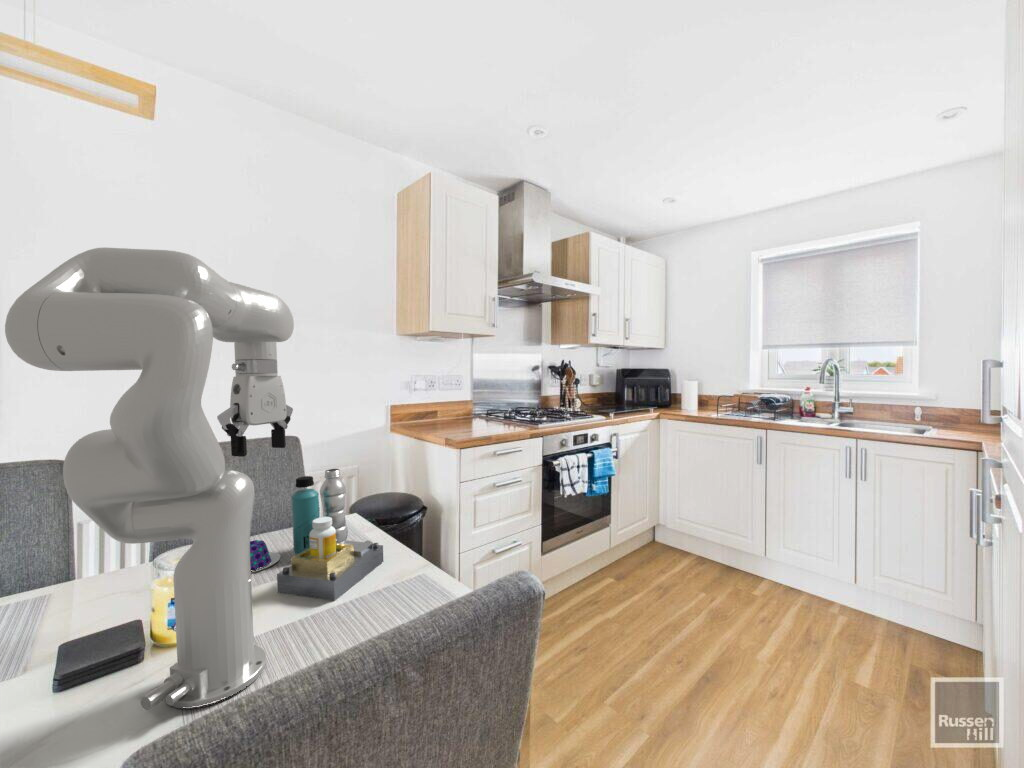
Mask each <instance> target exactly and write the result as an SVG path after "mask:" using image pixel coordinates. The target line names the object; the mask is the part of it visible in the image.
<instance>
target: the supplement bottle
mask: <svg viewBox="0 0 1024 768" xmlns="http://www.w3.org/2000/svg"><path fill="white" fill-rule="evenodd" d="M331 525H332V518H331V517H323V516H322V517H320V518H317V519H314V520H313V522H312V527H313V528H314V529H313V530H311V532H310V534H309V542H310V558H318V559H328V558H329V557H331V556H332V555H334V554H336V530H335V528H334V527H332V526H331Z"/></svg>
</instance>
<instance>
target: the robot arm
mask: <svg viewBox="0 0 1024 768" xmlns="http://www.w3.org/2000/svg"><path fill="white" fill-rule="evenodd" d="M294 322H295V321H294V317H293V313H292V311H291V310H290V307H289V305H287V304H286V302H285V301H284V300H283V299H282V298H281V297H279V296H278V295H276V294H273V293H270V292H268V291H264V290H260V289H256V288H252V287H249V286H245V285H242V284H240V283H235V282H232V281H228V280H227V279H225V278H224V277H222V276H221V275H220V274H218V273H217V272H216V271H215V270H214V269H212V268H211V267H210V266H208V265H207V264H206V263H205V262H204V261H202V260H200V259H199V258H197V257H196V256H193V255H192V254H189V253H185V252H182V251H181V252H180V251H176V250H168V249H167V250H166V249H146V248H142V249H141V248H128V247H127V248H125V247H124V248H123V247H122V248H121V247H95V248H92V249H88V250H86V251H83V252H81V253H78V254H76V255H74V256H73V257H71V258H69V259H68V260H66V261H64V262H62V263H61V264H60V265H59V266H57V267H56V268H54V269H53V270H52V271H50V272H49V273H48V274H47V275H45V276H44V277H42V278H41V279H39V281H37V282H36V283H34V284H33V285H31V286H30V287H29V288H28V289H26V290H25V291H24V292H23V293H21V294H20V295H19V296H18V297H17V298H16V300H15V301H14V302H13V304H12V305H11V306H10V308H9V310H8V312H7V315H6V319H5V324H4V334H5V337H6V342H7V343H8V346H9V347H10V349H11V350H12V352H13V353H14V354H15V355H16V356H17V357H18V358H19V359H21V360H22V361H23V362H25V363H26V364H29V365H30V366H32V367H36V368H38V369H42V370H46V371H53V372H58V371H59V372H84V371H86V372H88V371H89V372H90V371H91V372H93V371H94V372H95V371H97V372H98V371H135V370H136V371H137V370H138V371H139V370H141V372H140V375H139V377H138V379H137V380H136V382H135V383H133V385H132V386H130V387H129V388H128V389H127V390H126V391H125V392H124V393H123V394H122V396H120V398H119V399H118V401H117V402H116V404H115V405H114V407H113V409H112V412H111V413H110V416H109V425H110V428H109V429H103V430H98V431H94V432H91V433H87V434H86V435H84V436H82V437H81V438H79V439H78V440H77V441H76V442H74V443H73V444H72V446H70V448H69V449H68V451H67V453H66V455H65V458H64V460H63V465H62V474H63V475H62V476H63V483H64V487H65V489H66V490H65V491H66V492H67V495H68V496H69V499H71V501H72V502H73V503H74V505H76V506H77V508H79V509H80V510H81V511H82V512H83V513H84V514H85V515H86V516H87V517H88V518H90V519H91V521H93V522H94V524H96V525H97V526H98V527H99V528H100V529H101V530H103V531H104V532H105V533H106V534H107V535H108V536H109V537H110V538H112V539H113V540H115V541H117V542H119V543H123V544H133V545H134V544H144V543H145V544H146V543H147V544H148V543H157V542H165V541H166V542H167V541H175V540H192V544H191V546H190V547H189V548H188V550H187V551H186V552H185V553H184V554H183V555H182V557H181V558H180V559H179V560H178V562H177V563H176V565H175V568H174V571H173V578H172V579H173V593H174V595H173V596H174V615H175V617H174V619H175V634H176V635H175V638H176V639H175V640H176V655H177V656H176V657H177V662H175V663H174V664H173V665H171V666H170V667H169V676H168V677H166V678H165V679H164V681H163V683H161V685H159V686H157V687H155V688H154V689H152V690H151V691H149V692H148V693H146V694H145V695H143V696H142V697H141V698H140V700H139V702H140V706H141V708H142V709H143V710H144V711H147V712H148V711H150V710H151V709H153V708H154V707H156V706H157V705H158V704H160V703H162V702H163V701H164V699H165V702H166V704H167V705H169V706H171V705H172V706H171V707H174V708H177V709H183V707H192V706H199V705H203V704H207V703H211V702H213V701H216V700H221V698H224V697H226V698H227V699H228V697H229V696H231V697H233V696H232V694H235V693H236V692H238V693H240V692H241V691H243V690H244V689H246V688H247V687H249V686H250V685H251V684H252V683H253V682H255V681H256V680H257V679H258V678H259V676H260V675H261V674H262V672H263V671H264V669H265V668H266V665H267V656H266V651H265V650H264V649H263V648H262V647H261V646H258V645H255V641H254V640H255V639H254V638H255V637H254V635H255V634H254V617H253V616H254V614H253V595H252V592H253V591H252V572H251V564H250V541H251V529H252V522H253V521H252V519H253V512H254V505H255V495H256V494H255V485H254V483H253V480H252V479H251V477H250V476H249V475H247V474H246V473H243V472H241V471H237V470H234V469H233V470H232V469H226V461H225V460H226V459H225V455H224V452H223V450H222V447H221V446H220V444H219V442H218V441H219V440H218V439H217V437H216V435H215V433H214V431H213V429H212V426H211V425H210V422H209V420H208V419H207V417H206V415H205V413H204V410H203V406H202V398H203V397H202V396H203V393H204V389H205V385H206V382H207V377H208V374H209V373H208V372H209V369H210V363H211V358H212V351H213V350H212V349H213V344H214V339H215V340H217V341H220V342H224V343H233V345H234V363H232V365H231V370H233V371H234V372H235V376H233V378H232V383H231V388H230V398H229V399H230V403H229V406H230V407H229V408H227V409H225V410H224V411H222V412H221V413H220V414H218V415H217V416H216V417H217V421H218V422H219V424H220V426H221V429H222V430H223V431H224V432H225V433H226V435H227V437H230V451H231V456H232V457H241V458H242V457H246V456H247V455H248V451H247V449H248V447H247V436H246V435H244V434H245V432H246V430H247V429H248V428H249V426H259V425H261V426H262V425H269V424H270V426H271V427H272V429H271V431H270V434H271V435H270V436H271V437H270V439H271V447H272V448H274V449H275V448H276V449H284V448H286V446H287V445H286V430H287V429H288V427H289V426H288V424H290V421H291V419H292V418H291V416H292V414H293V410H294V409H293V407H291V406H290V405H289V404H287V401H286V400H287V399H286V393H285V388H284V383H283V379H282V377H281V375H278V355H277V353H278V352H277V351H278V350H277V343H283V342H286V341H287V340H289V339H290V338H291V337H292V334H293V333H294V325H295V324H294ZM246 686H247V687H246ZM240 690H241V691H240ZM239 691H240V692H239ZM236 694H237V693H236ZM236 694H235V695H236ZM229 698H230V697H229Z"/></svg>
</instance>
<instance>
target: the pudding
mask: <svg viewBox="0 0 1024 768" xmlns="http://www.w3.org/2000/svg"><path fill="white" fill-rule="evenodd" d="M268 549H269V548H268V546H267V544H266V542H265V541H264V540H258V539H254V540H250V564H251V570H253V571H252V572H251V573H254V572H258V571H262V570H265V569H267V568H269V567H271V566H273V565H275V564H276V563H278V562H279V560H280V559H281V555H280V553H278V552H274V551H269V550H268ZM270 563H271V564H270ZM266 565H268V566H266ZM264 566H266V567H264ZM260 567H264V568H262V569H261V568H260ZM257 568H258V569H259V570H258V569H257ZM254 570H256V571H254Z"/></svg>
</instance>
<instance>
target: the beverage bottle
mask: <svg viewBox="0 0 1024 768" xmlns="http://www.w3.org/2000/svg"><path fill="white" fill-rule="evenodd" d="M314 485H315V482H314V477H313V476H311V475H305V476H299V477H297V478H295V488H299V490H296V491H295V492H294V493H293V494H292V496H291V497H290V498H291V508H292V509H291V511H292V513H291V514H292V542H293V544H292V545H293V552H294V555H297V554H299V553H301V552H303V551H304V550H306V549H308V548H310V542H309V534H310V532H311V530H313V529H314V528H313V527H312V522H313V520H314V519H317V518H320V516H321V515H320V514H321V512H320V502H319V501H320V498H319V497H320V496H319V495H320V492H318V491H317V490H316V489H314V488H309V487H312V486H314ZM300 488H301V489H300Z"/></svg>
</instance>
